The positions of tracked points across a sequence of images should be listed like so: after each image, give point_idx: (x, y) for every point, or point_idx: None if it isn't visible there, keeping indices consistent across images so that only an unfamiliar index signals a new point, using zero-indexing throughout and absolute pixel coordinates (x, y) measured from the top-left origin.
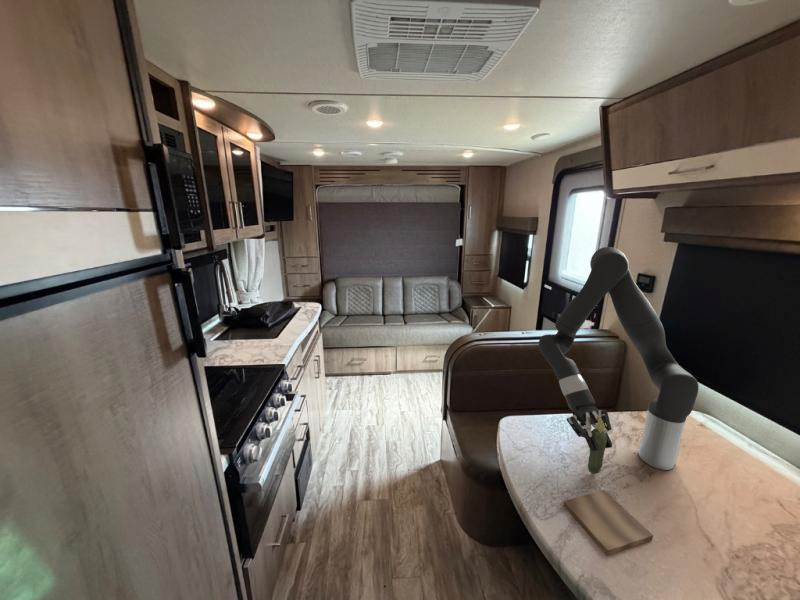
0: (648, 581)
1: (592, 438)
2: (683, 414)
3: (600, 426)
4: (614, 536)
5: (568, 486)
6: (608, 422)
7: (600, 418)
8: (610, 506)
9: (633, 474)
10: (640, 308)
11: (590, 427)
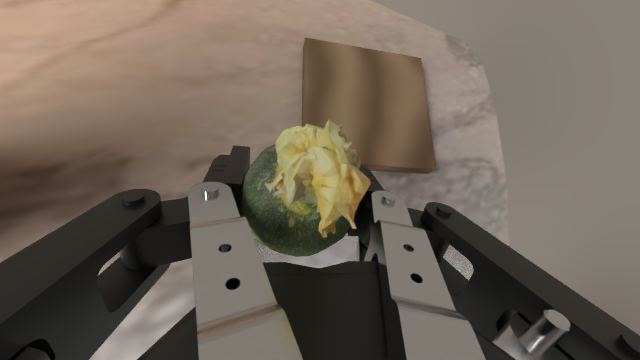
0: (380, 18)
1: (370, 185)
2: None
3: (345, 140)
4: (387, 68)
5: None
6: (70, 240)
7: (337, 149)
8: (334, 117)
9: (117, 189)
10: None
11: (391, 222)
